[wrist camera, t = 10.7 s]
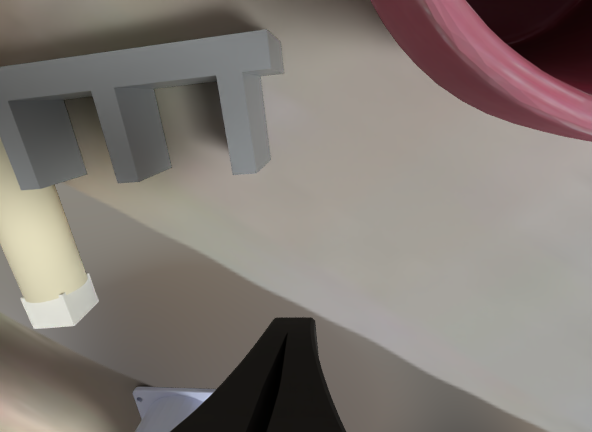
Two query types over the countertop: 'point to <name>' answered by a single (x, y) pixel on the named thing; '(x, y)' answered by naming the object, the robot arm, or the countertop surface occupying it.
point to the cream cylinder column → (42, 253)
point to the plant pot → (504, 56)
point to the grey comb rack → (134, 105)
